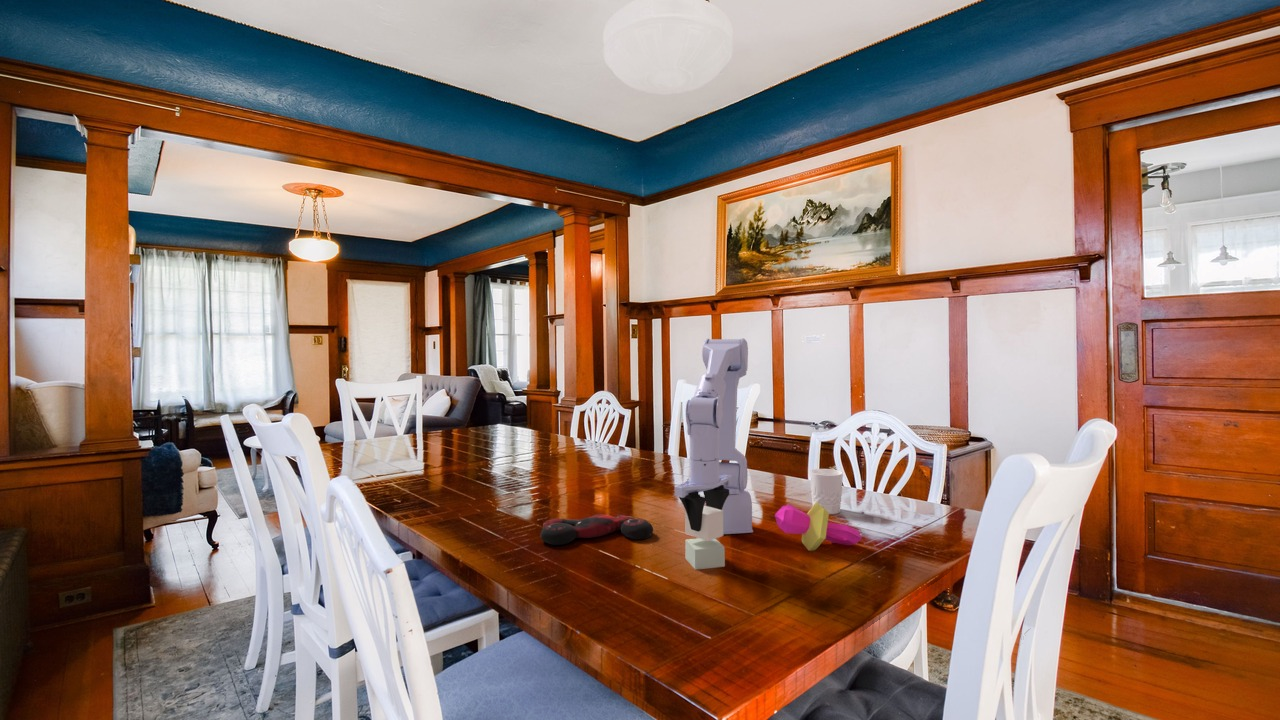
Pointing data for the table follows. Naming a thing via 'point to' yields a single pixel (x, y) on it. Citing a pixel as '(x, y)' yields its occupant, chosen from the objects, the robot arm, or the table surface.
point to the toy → (815, 526)
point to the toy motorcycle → (594, 528)
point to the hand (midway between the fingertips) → (704, 527)
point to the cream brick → (707, 524)
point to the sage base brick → (704, 553)
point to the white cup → (827, 489)
